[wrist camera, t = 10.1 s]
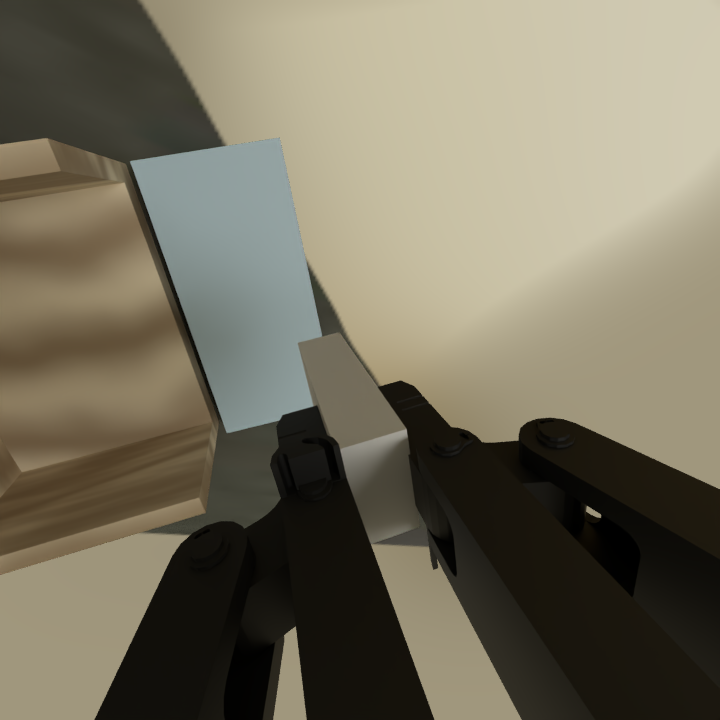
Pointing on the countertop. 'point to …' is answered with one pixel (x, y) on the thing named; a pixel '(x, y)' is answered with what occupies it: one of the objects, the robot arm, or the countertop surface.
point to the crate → (90, 363)
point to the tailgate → (237, 273)
